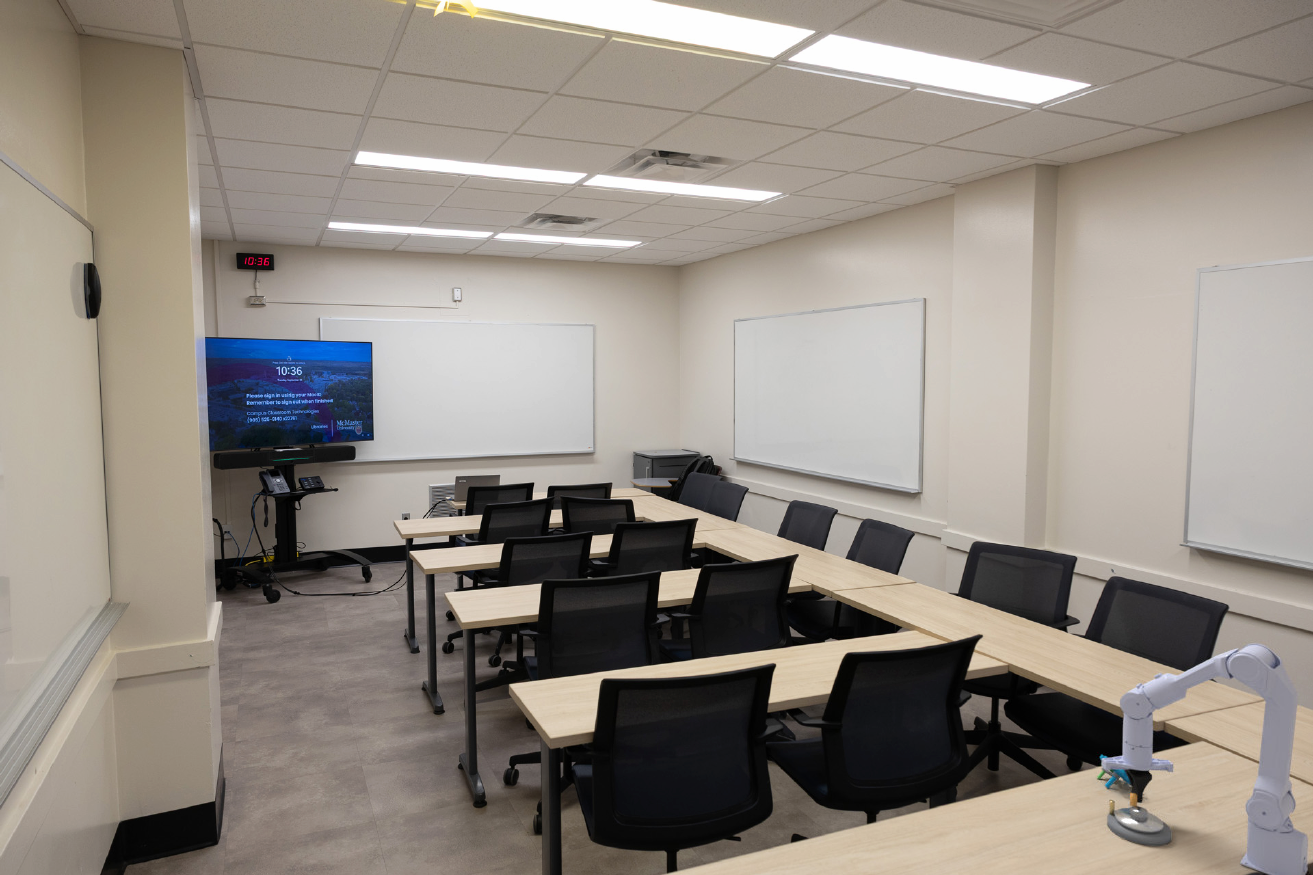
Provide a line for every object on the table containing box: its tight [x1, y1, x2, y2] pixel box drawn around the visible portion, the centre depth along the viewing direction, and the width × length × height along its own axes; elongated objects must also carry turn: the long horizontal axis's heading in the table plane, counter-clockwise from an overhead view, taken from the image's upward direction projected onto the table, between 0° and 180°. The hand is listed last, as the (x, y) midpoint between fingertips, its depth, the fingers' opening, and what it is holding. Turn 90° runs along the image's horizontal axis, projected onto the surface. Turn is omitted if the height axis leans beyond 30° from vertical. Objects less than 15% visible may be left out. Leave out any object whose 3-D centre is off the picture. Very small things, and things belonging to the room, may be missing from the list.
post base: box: [1106, 799, 1172, 847], centre depth 171 cm, size 12×12×4 cm
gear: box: [1096, 754, 1131, 789], centre depth 191 cm, size 11×6×10 cm
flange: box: [1115, 792, 1164, 833], centre depth 172 cm, size 11×9×4 cm
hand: (1136, 800), depth 177 cm, fingers closed, pressing on flange
